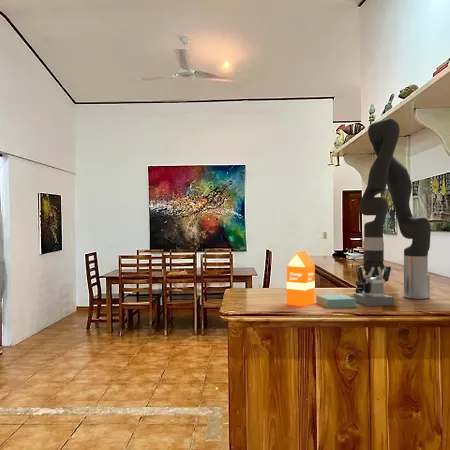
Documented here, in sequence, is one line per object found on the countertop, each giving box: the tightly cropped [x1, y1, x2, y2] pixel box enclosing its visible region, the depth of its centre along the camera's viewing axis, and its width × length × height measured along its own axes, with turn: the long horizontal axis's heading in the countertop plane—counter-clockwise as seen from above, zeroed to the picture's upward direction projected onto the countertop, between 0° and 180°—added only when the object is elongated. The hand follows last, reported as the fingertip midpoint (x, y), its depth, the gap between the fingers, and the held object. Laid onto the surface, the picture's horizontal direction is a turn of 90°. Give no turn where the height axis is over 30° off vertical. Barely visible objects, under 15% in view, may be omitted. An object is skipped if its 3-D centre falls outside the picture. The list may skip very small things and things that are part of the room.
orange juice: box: [286, 250, 316, 307], centre depth 184 cm, size 8×9×20 cm
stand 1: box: [315, 293, 357, 309], centre depth 182 cm, size 11×11×3 cm
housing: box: [362, 277, 386, 297], centre depth 186 cm, size 8×5×6 cm, turn 12°
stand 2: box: [353, 292, 395, 307], centre depth 186 cm, size 11×11×3 cm
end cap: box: [355, 280, 363, 293], centre depth 201 cm, size 10×7×7 cm
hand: (373, 292), depth 186 cm, fingers closed on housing, 5 cm apart
